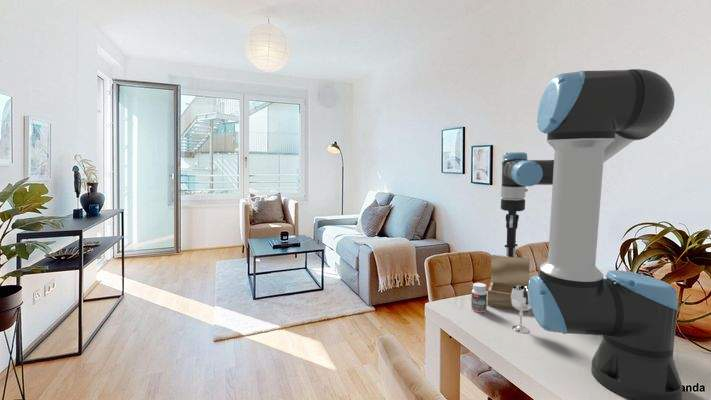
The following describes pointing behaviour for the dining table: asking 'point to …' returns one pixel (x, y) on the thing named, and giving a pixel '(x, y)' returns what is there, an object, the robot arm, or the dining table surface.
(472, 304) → the pill bottle
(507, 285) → the crate
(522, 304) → the wineglass
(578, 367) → the dining table surface
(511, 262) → the lid
